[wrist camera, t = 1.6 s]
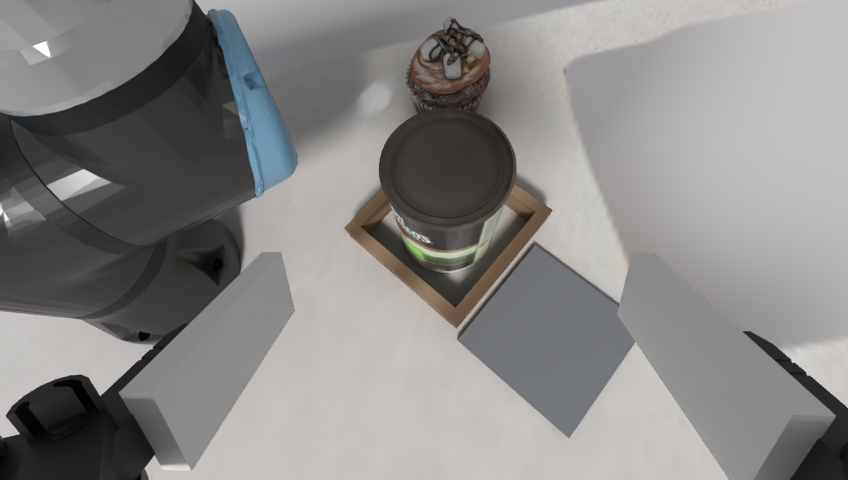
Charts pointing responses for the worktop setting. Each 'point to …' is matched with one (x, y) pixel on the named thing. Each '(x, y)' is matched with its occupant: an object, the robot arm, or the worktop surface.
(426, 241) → the coffee can
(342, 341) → the worktop surface
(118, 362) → the worktop surface
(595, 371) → the rubber pad
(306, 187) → the worktop surface
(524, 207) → the walnut collar
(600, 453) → the worktop surface
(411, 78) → the cupcake
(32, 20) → the robot arm
